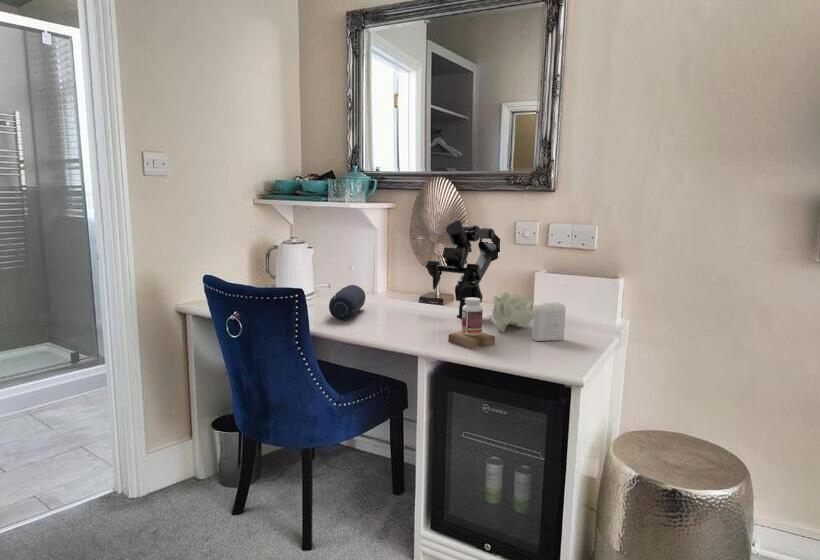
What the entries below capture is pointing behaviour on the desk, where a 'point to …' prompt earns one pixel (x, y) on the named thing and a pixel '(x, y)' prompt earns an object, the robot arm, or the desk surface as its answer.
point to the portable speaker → (347, 302)
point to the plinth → (471, 339)
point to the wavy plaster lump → (511, 311)
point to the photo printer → (548, 321)
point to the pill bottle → (472, 317)
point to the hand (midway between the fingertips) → (446, 289)
